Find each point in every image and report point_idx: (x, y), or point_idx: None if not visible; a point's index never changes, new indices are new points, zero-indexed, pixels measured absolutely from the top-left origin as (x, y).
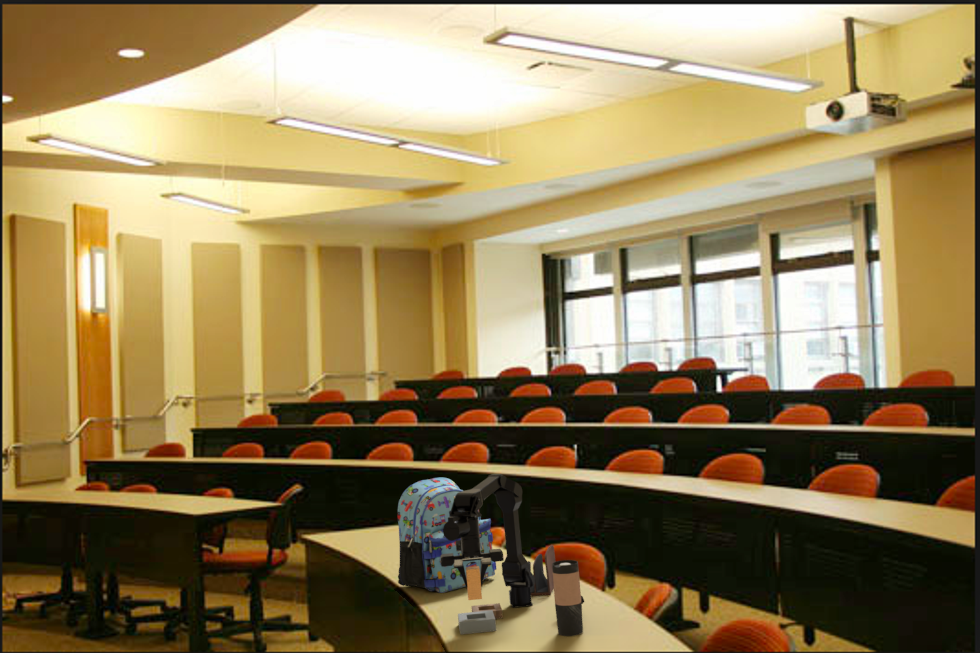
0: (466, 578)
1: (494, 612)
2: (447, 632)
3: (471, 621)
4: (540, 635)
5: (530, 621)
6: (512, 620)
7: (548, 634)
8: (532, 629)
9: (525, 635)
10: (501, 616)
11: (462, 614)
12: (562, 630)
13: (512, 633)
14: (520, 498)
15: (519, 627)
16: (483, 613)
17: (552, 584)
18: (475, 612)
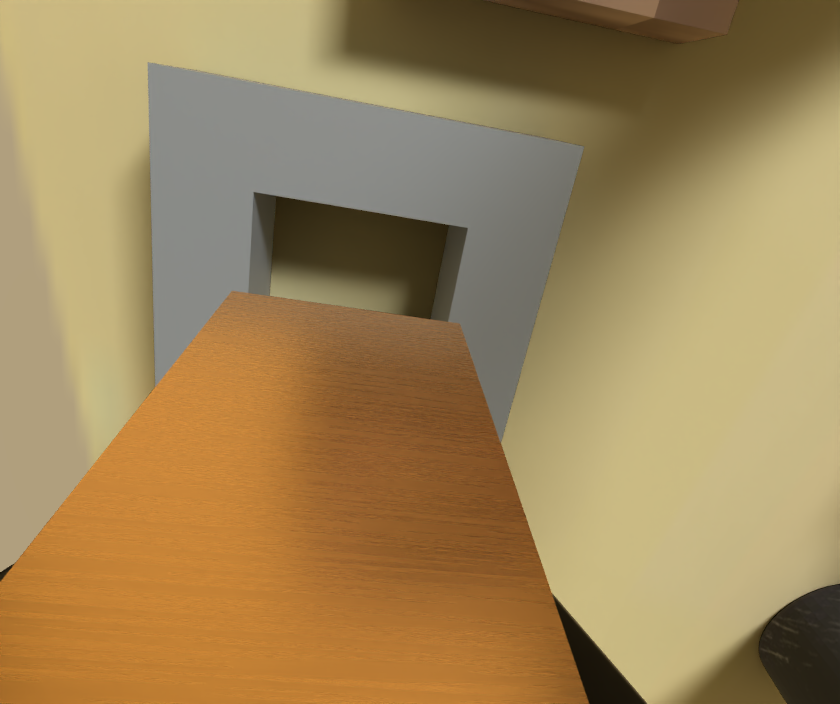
0: (48, 563)
1: (629, 17)
2: (78, 278)
3: None
4: (670, 616)
5: (805, 301)
6: (710, 187)
7: (716, 616)
8: (699, 497)
9: (600, 586)
10: (676, 40)
11: (207, 145)
12: (779, 690)
13: (550, 522)
14: None
15: (653, 416)
16: (452, 223)
17: None
18: (375, 137)
